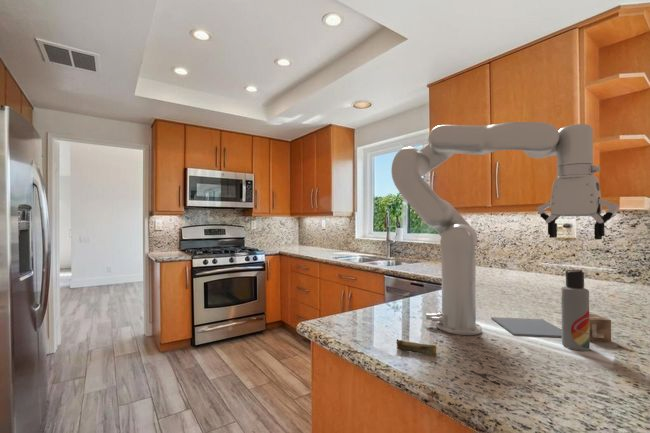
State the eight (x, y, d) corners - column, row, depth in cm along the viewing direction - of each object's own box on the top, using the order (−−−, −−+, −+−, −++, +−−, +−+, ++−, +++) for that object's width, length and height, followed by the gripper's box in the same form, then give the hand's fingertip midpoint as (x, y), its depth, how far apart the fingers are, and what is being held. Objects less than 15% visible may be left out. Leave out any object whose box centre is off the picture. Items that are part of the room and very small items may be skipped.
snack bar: (436, 356, 77) (436, 344, 77) (436, 358, 76) (436, 346, 76) (396, 349, 81) (396, 337, 81) (395, 351, 80) (395, 339, 80)
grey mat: (513, 335, 91) (513, 333, 91) (491, 318, 107) (491, 317, 107) (574, 338, 90) (574, 336, 90) (542, 320, 106) (542, 319, 106)
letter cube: (587, 341, 87) (587, 319, 87) (572, 333, 93) (572, 312, 93) (611, 342, 87) (611, 320, 87) (595, 334, 93) (594, 313, 93)
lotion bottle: (594, 352, 80) (594, 271, 80) (569, 350, 81) (568, 270, 81) (581, 343, 85) (580, 268, 86) (557, 342, 86) (556, 267, 87)
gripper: (622, 170, 79) (622, 239, 79) (543, 177, 93) (543, 236, 93) (613, 167, 75) (614, 240, 75) (531, 175, 89) (531, 237, 89)
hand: (574, 238), depth 84 cm, fingers open, 9 cm apart
